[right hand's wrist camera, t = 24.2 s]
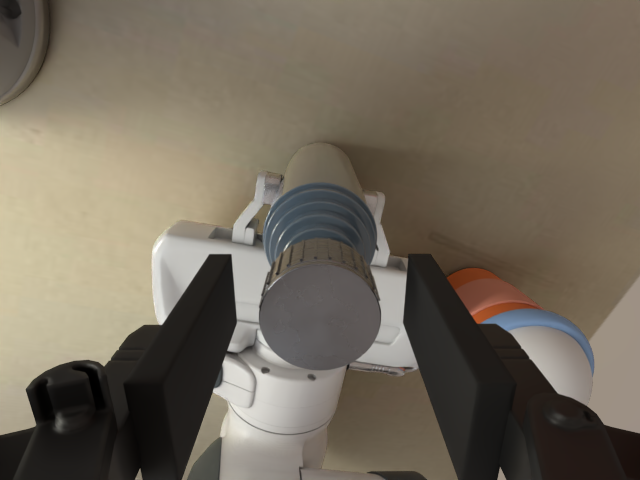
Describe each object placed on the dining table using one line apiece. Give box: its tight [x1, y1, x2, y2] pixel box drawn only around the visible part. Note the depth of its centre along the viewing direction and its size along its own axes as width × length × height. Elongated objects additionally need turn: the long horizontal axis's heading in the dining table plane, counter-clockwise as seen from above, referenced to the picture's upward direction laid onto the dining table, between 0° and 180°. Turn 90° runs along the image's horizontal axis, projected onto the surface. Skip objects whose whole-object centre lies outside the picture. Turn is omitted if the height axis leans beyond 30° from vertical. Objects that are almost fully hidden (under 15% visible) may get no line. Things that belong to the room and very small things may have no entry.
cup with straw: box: [447, 268, 594, 406], centre depth 28 cm, size 9×9×18 cm
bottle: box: [263, 142, 377, 266], centre depth 23 cm, size 5×5×21 cm
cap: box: [259, 238, 381, 370], centre depth 13 cm, size 4×4×2 cm
